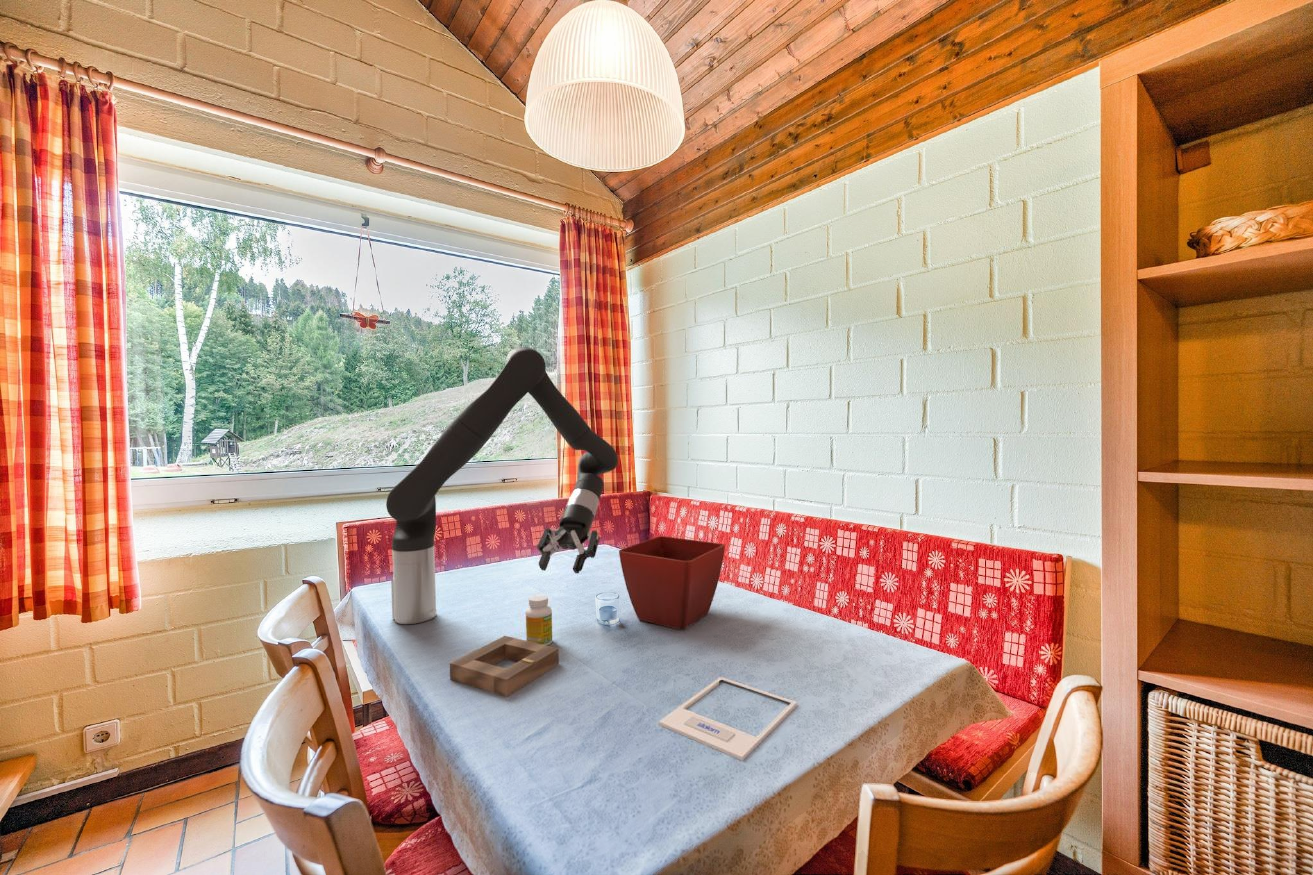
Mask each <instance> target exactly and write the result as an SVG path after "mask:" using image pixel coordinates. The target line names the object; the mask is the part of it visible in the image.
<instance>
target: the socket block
mask: <svg viewBox="0 0 1313 875" xmlns="http://www.w3.org/2000/svg"><path fill="white" fill-rule="evenodd" d="M559 653H560V652H559V648H558V647H554V646H550V645H547V646H546V645H542V644H538V643H533V642H529V641H526V640H525V639H520V638H517V637H512V636H508V635H503V636H501V637H499V638H497V639H495V640H493V641H491V642H489V643H487V644H485V645H483V646H481V647H479V648H477V649H475V650H473V651H471V652H469V653H467V654H465V655H463V656H461V657H459V658H457V659H455V660H453V661H451V662H449V679H450V680H451V681H455V682H457V683H462V684H465V685H468V686H471V687H474V688H477V689H480V690H484V691H487V692H490V693H493V694H497V695H500V696H504V697H509V696H510V695H512V694H513V693H515V692H517V691H518V690H520V689H522V688H523V687H524V686H527V685H528V684H530V683H531V682H532V681H534V680H536V679H537V678H539V677H541V675H543V674H545V673H546V672H548V671H549V670H551V669H552V668H554V667H556V666H558V665H559V662H560V661H559V660H560V656H559ZM504 660H510V661H512V662H513V661H514V662H515V663H514V664H512V665H510V666H508V667H507V668H505V667H501V666H499V665H496V664H499V663H500V662H502V661H504Z"/></svg>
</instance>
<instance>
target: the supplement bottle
mask: <svg viewBox="0 0 1313 875" xmlns="http://www.w3.org/2000/svg"><path fill="white" fill-rule="evenodd" d="M528 606H529V607H528V608H527V609H526V611H525V625H526V626H525V630H526V632H525V635H526V640H525V641H529V642H533V643H538V644H542V645H546V646H550V645H551V644H552V642H553V616H552V614H553V612H552V608H551V606H549V597H548V595H545V594H536V595H532V596H530V597H529V598H528Z"/></svg>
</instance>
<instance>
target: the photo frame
mask: <svg viewBox="0 0 1313 875" xmlns="http://www.w3.org/2000/svg"><path fill="white" fill-rule="evenodd" d="M720 681H722V682H723V681H724V682H726V683H730V684H732V685H735V686H739V687H740V688H741V687H742V688H744V689H747V690H750V691H753V692H757V693H759V694H763V695H766V696H768V697H771V698H774V699H778V700H781V701H783V702H786V703H789V704H788V705H787V707H785V708H784V709H783V711H781V712H780V713H779V714H778V716H776V717H775V718H774V719H773V720H772V721H771V722H770V723H769V724H768V725H767V726H765V728H764V729H763V730H762V731H761V732H760V733H759V734H758V735H757V736H754V735H751V734H749V733H747V732H744V731H742V730H740V729H738V728H737V729H736V728H734V727H731V726H729V725H727V724H724V723H721V722H719V721H716V720H713V719H711V718H709V717H706V716H703V715H700V714H699V713H696V712H693V711H691V710H688V709H687V708H689V707H690V706H692V705H693V704H694V703H696V702H697V701H698V700H700V699H701V698H702V697H703V696H705V695H706V694H708V693H709V692H710V691H712V690H713V689H715V688H716V687H717V686H718V685H720ZM797 706H798V702H797V701H794V700H791V699H788V698H785V697H784V696H783V697H782V696H779V695H776V694H773V693H770V692H767V691H765V690H761V689H759V688H756V687H752V686H749V685H746V684H743V683H740V682H737V681H734V680H731V679H728V678H725V677H722V676H720V677H719V678H717V679H716V680H714V681H713V682H712V683H709V685H708V686H705V688H703V689H702V690H700V691H699V692H698V693H696V694H695V695H694V696H692V697H691V698H689V699H688V700H687V701H685V702H684V703H683V704H681V705H679V707H677V708H675V709H674V710H673V711H671V712H670V713H669V714H667V715H666V716H664V717H662V719H660V720H659V721H658V725H659V726H660V727H663V728H665V729H668V730H670V731H672V732H675V733H677V734H679V735H682V736H684V737H686V738H689V739H691V740H694V741H695V742H698V743H700V744H703V745H705V746H707V747H709V748H712V749H714V750H716V751H719V752H720V753H723V754H726V755H728V756H730V757H732V758H734V759H737V760H740V761H744V760H745V758H746V757H748V755H749V754H750V753H752V751H753V750H754V749H756V747H758V746H759V745H760V744H761V742H762V741H763V740H764V739H765V738H766V737H767V736H768V735H769V734H771V732H772V731H773V730H774V729H775V728H776V727H777V726H778V725H779V724H780V723H781V722H782V721H783V720H784V719H785V718H786V717H787V716H788V715H789V714H790V713H791V712H792V711H793V710H794V709H795V708H796V707H797Z"/></svg>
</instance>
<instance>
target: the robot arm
mask: <svg viewBox="0 0 1313 875" xmlns="http://www.w3.org/2000/svg"><path fill="white" fill-rule="evenodd" d="M546 369H547V366H546V361H545V358H544V357H543V355H542V354H541V353H540V352H539V351H537V350H536V349H533V348H530V347H527V346H518V347H515V348H513V349H512V350H510V351H509V352H508V354H507V355H506V357H505V361H504V367H503V368H502V370H501V371H500V373H499V374H498V375H497V377H496V378H495V379H494V381H493V382H492V383H491V384H490V385H489V387H488V388H487V389H485V390H484V391H483V392H481V394H480V395H478V396H477V397H475V399H474V400H471V402H469V404H467V405H466V406H465V407H464V408H463V409H462V410H461V411H460V412H459V413H458V414H457V415H456V416H455V417H454V419H453V420H452V421H451V422H450V423H449V424H448V425H447V427H446V428H445V429H444V431H443V432H442V433H441V435H440V436H439V437H438V439H437V440H436V441H435V442H434V443H433V445H432V446H431V448H429V450H428V452H427V453H426V455H425V456H424V457H423V459H422V460H420V462H419V463H418V464H417V465H416V466H415V467H414V468H413V469H412V470H411V471H410V472H409V473H408V474H406V476H405V477H404V478H403V479H402V480H401V481H400V482H399V483H397V484H396V485H395V486H394V487H392V489H391V490H390V492H389V493H388V495H387V499H386V503H385V504H386V505H385V507H386V512H387V513H388V514H389V516H390V518H392V519H393V520H396V523H395V531H394V533H393V536H392V539H391V548H392V552H391V553H392V577H393V578H391V580H390V584H391V588H390V589H391V607H392V608H391V613H392V616H391V617H392V619H394V622H395V623H396V624H400V625H414V624H415V625H416V624H420V623H424V622H427V621H430V620H432V619H434V618H435V617H436V616H437V596H436V595H437V594H436V593H437V591H436V589H437V588H436V564H435V561H436V560H435V534H436V532H437V530H436V528H437V501H436V500H437V499H436V494H437V493H438V492H439V490H440V489H441V488H442V487H443V486H444V484H445V483H446V482H447V481H448V480H449V479H450V478H451V477H452V476H453V475H455V474H456V473H457V472H459V470H461V468H462V467H464V466H465V465H466V464H467V463H468V462H469V461H470V460H472V459H473V458H474V457H475V456H476V454H478V453H479V452H480V451H481V449H482V448H483V447H484V446H485V445H486V444H487V442H488V441H489V440H490V439H491V437H492V436H493V435H494V434H495V432H496V431H497V430H498V428H499V427H500V426H501V424H502V423H503V422H504V421H505V419H506V418H507V417H508V415H509V413H510V412H511V411H512V409H513V408H515V406H516V405H517V404H518V403H519V401H521V400H522V399H523V398H524V397H525V396H526V395H527V394H529V395H530V396H531V397H532V398H533V399H534V401H535V402H536V403H537V404H538V405H539V406H540V408H541V410H543V412H544V413H545V415H546V416H547V418H548V420H550V422H551V423H552V425H553V426H554V428H556V430H557V432H558V434H560V435H561V436H562V438H563V439H564V440H565V442H566V443H567V444H568V445H569V447H570V448H571V449H573V451H585V452H584V453H583V454H582V455H581V456H580V458H579V461H578V464H577V465H578V466H577V476H576V477H577V480H576V482H575V485H574V488H573V490H572V492H571V495H570V496H569V497H568V500H567V503H566V505H565V508H564V510H563V513H562V515H561V518H560V521H559V526H558V528H557V529H556V530H553V529H550V527H546V528H544V531H543V533H542V535H541V537H540V539H539V541H538V544H537V545H536V548H537V550H538V552H540V554H541V555H540V557H539V558H540V559H539V561H538V566H539V569H540V570H541V571H546V570H547V568H548V566H549V563H550V560H551V558H552V557H551V556H552V555H554V553H558V552H559V551H561V550H562V549H563V550H572V551H575V550H576V549H577V551H578V554H577V555H576V558H575V561H574V563H573V566H572V571H573V572H574V574H579V573H580V572H581V571H582V570H583V567H584V564H585V561H586V560H587V559H588V558H591V559H593V558H595V557H596V554H597V550H598V547H599V542H600V538H601V537H600V535H599V532H598V531H597V530H595V529H594V530H592V531H591V528H592V526H593V522H594V519H595V516H596V515H597V511H598V506H599V502H600V498H601V496H602V493H603V490H604V480H603V478H601V475H602V474H606V473H608V472H612V471H613V470H615V469H616V468H617V467H618V465H619V456H618V454H617V451H616V450H615V449H614V447H613V446H612V445H611V444H610V443H609V442H607V440H605V439H604V438H602V437H601V436H600V435H599V434H597V433H596V432H594V431H593V430H592V429H591V427H589V424H588V423H587V422H586V421H585V419H584V418H583V417H582V416H581V414H580V413H579V412H578V411H577V409H576V408H575V407H574V406H573V405H572V404H571V403H570V402H569V401H568V400H567V399H566V397H565V396H564V395H563V393H561V392H560V390H559V389H558V388H557V387H556V385H555V383H554V382H553V381H552V379H551V378H550V376H549V374H548V373H547V371H546ZM586 541H588V546H587V548H586V549H585V547H584V543H585V542H586ZM556 544H557V545H556Z"/></svg>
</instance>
